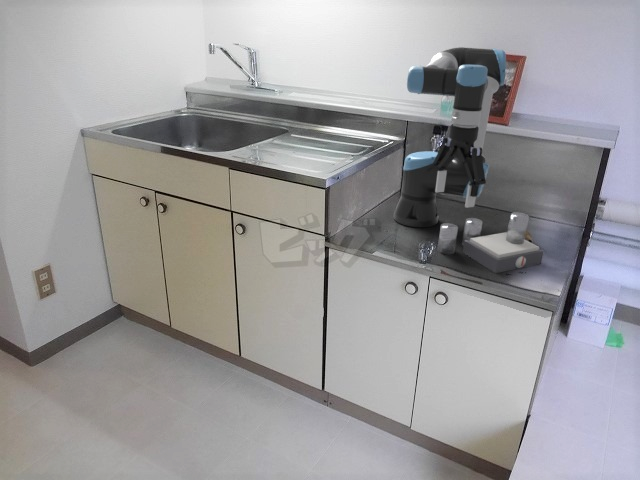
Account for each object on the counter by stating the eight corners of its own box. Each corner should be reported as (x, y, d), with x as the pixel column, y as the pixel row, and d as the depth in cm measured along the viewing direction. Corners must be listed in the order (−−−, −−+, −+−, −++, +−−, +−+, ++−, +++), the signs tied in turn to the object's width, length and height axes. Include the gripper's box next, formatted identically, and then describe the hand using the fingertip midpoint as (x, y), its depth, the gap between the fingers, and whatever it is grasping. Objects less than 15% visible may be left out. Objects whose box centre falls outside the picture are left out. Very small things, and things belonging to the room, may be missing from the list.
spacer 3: (502, 238, 152) (507, 213, 149) (515, 236, 154) (520, 211, 151) (514, 245, 148) (519, 219, 145) (527, 242, 150) (533, 217, 147)
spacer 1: (434, 248, 156) (437, 224, 153) (447, 246, 158) (451, 222, 155) (444, 255, 152) (447, 230, 149) (457, 253, 154) (461, 228, 151)
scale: (462, 252, 154) (465, 237, 152) (506, 244, 161) (509, 230, 159) (497, 274, 142) (500, 257, 140) (542, 264, 148) (546, 248, 146)
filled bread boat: (517, 231, 172) (520, 219, 170) (535, 249, 159) (538, 236, 157) (502, 231, 171) (504, 218, 170) (518, 249, 158) (521, 236, 157)
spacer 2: (458, 242, 161) (462, 219, 158) (471, 240, 163) (475, 217, 159) (468, 249, 157) (472, 224, 153) (481, 246, 159) (486, 222, 155)
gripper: (426, 117, 148) (418, 187, 157) (485, 135, 128) (472, 215, 136) (447, 116, 151) (438, 185, 160) (508, 133, 131) (494, 211, 139)
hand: (453, 199), depth 148 cm, fingers open, 13 cm apart
